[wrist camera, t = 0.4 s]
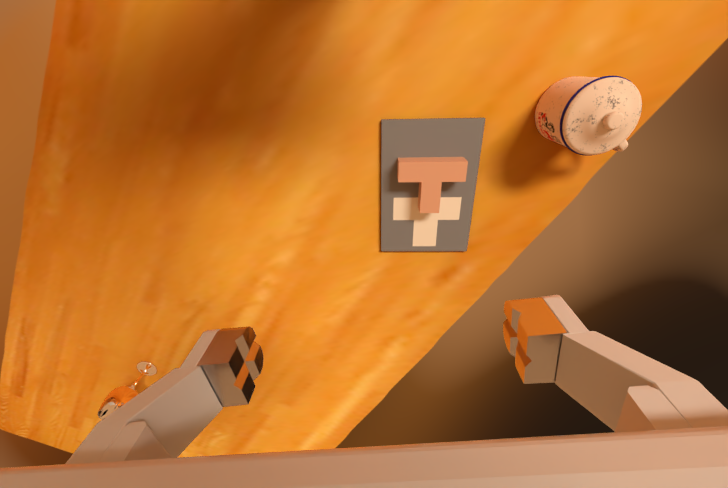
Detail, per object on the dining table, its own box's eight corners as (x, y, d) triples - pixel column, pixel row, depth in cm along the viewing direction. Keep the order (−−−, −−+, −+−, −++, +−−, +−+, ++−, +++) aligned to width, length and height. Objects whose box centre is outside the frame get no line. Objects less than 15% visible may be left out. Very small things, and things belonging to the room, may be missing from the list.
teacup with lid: (518, 117, 49) (556, 131, 38) (569, 59, 45) (626, 57, 35) (573, 165, 52) (622, 189, 41) (625, 114, 48) (693, 127, 38)
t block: (397, 157, 51) (398, 162, 49) (463, 156, 51) (468, 161, 48) (396, 206, 55) (397, 213, 52) (457, 205, 55) (461, 212, 52)
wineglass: (160, 363, 75) (124, 411, 65) (159, 379, 78) (124, 428, 67) (134, 356, 75) (94, 404, 64) (133, 373, 77) (95, 421, 67)
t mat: (381, 119, 49) (381, 120, 49) (484, 117, 49) (485, 118, 48) (381, 249, 60) (381, 251, 59) (465, 249, 59) (466, 251, 58)
